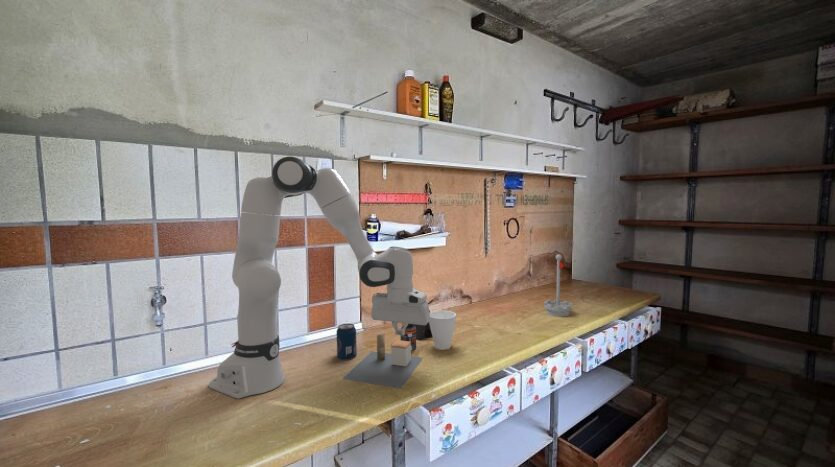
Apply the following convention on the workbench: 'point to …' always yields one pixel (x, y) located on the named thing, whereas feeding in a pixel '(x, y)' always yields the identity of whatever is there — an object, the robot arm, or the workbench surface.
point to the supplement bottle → (410, 335)
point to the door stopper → (423, 331)
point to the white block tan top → (401, 353)
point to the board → (382, 371)
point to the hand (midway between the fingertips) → (400, 334)
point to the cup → (442, 328)
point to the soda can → (346, 342)
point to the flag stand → (558, 298)
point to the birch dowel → (380, 346)
